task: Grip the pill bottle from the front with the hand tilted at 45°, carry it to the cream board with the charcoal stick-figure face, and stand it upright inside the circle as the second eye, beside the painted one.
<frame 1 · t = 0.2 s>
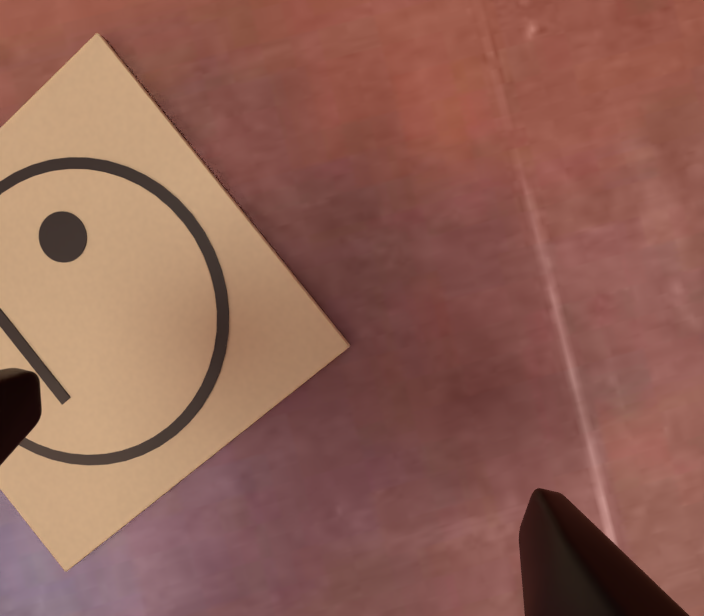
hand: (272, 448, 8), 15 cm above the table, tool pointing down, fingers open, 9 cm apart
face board: (86, 313, 25), on the table
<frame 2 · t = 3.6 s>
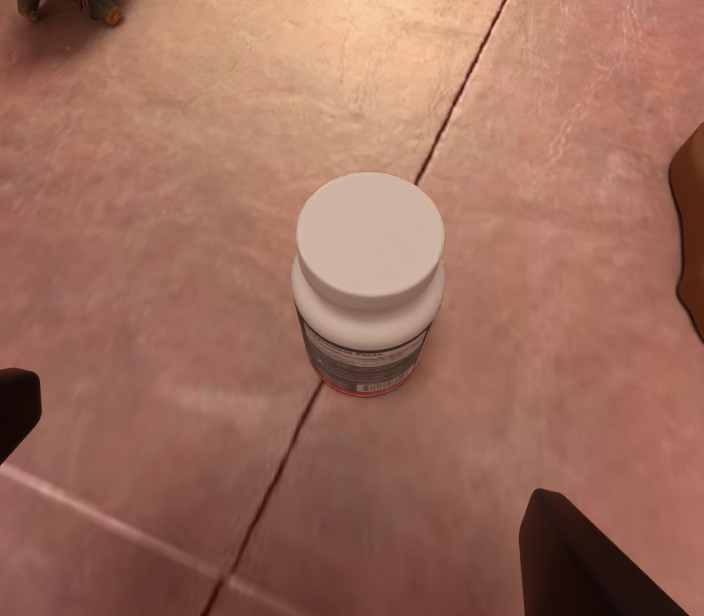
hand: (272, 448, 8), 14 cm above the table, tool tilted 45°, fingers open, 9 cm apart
pill bottle: (363, 344, 24), on the table
bird figurine: (72, 6, 35), on the table
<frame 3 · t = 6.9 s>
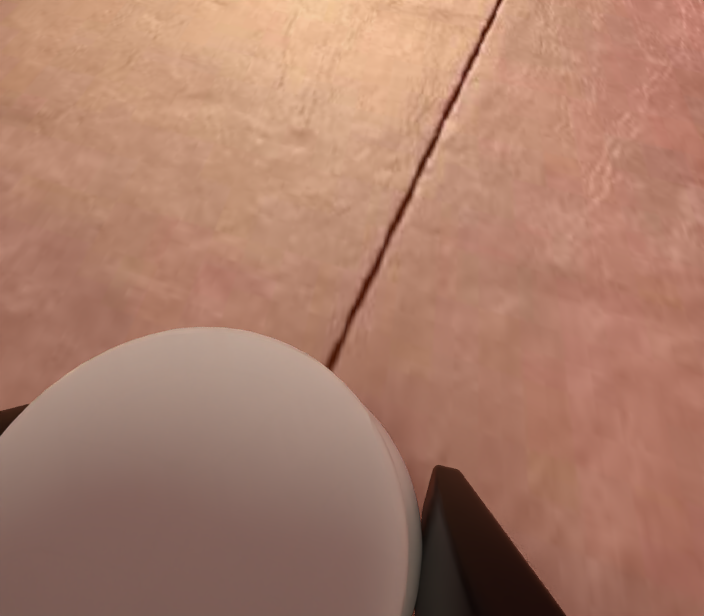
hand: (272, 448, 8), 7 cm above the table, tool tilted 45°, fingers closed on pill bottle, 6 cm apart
pill bottle: (291, 535, 14), on the table, touching gripper
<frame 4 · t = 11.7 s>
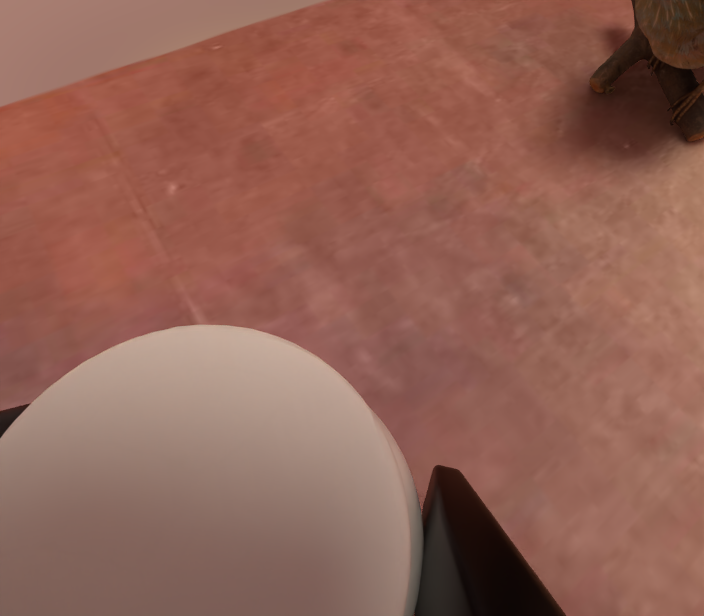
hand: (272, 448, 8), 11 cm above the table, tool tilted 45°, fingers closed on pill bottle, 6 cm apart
pill bottle: (292, 534, 14), point 5 cm above the table, touching gripper
bird figurine: (640, 90, 28), on the table
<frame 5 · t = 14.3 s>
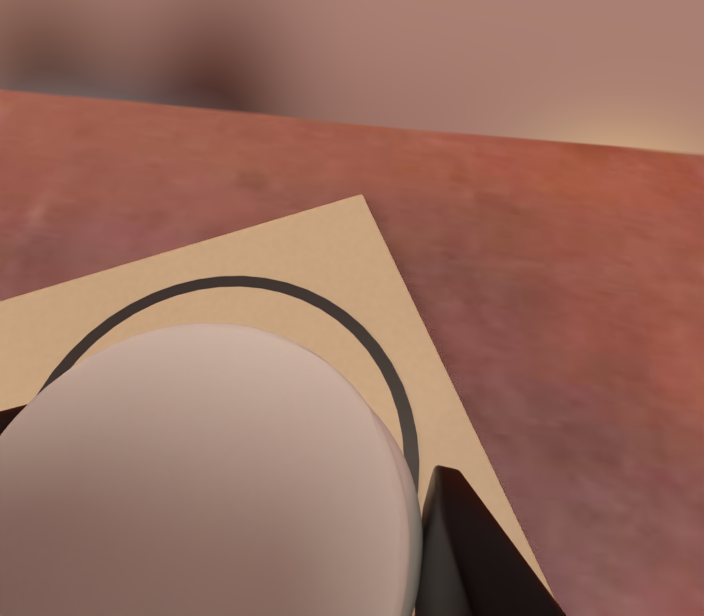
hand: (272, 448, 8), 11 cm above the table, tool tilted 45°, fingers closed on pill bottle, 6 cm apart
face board: (218, 456, 19), on the table
pill bottle: (292, 533, 14), point 4 cm above the table, touching gripper
when the fingers open (7 cm above the table, at t = 16.5 s): pill bottle stays where it is, resting on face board.
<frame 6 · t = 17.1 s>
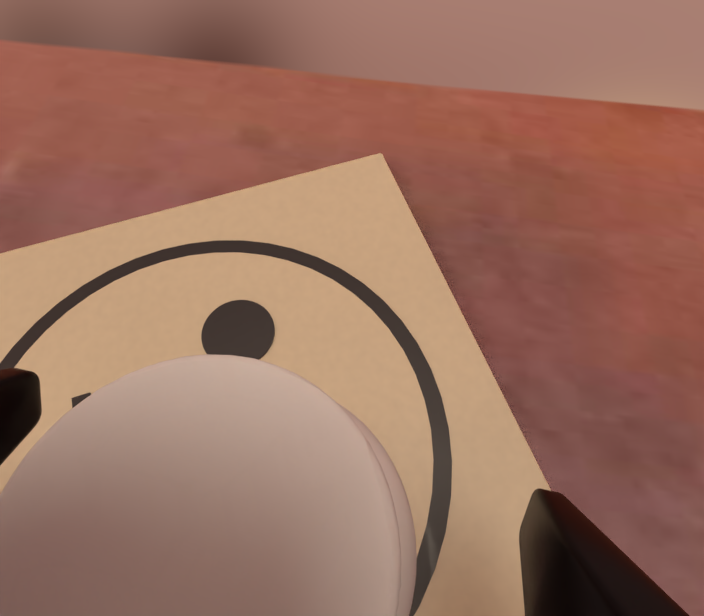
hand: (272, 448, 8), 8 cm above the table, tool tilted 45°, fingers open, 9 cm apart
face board: (208, 450, 16), on the table
pill bottle: (292, 542, 14), resting on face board
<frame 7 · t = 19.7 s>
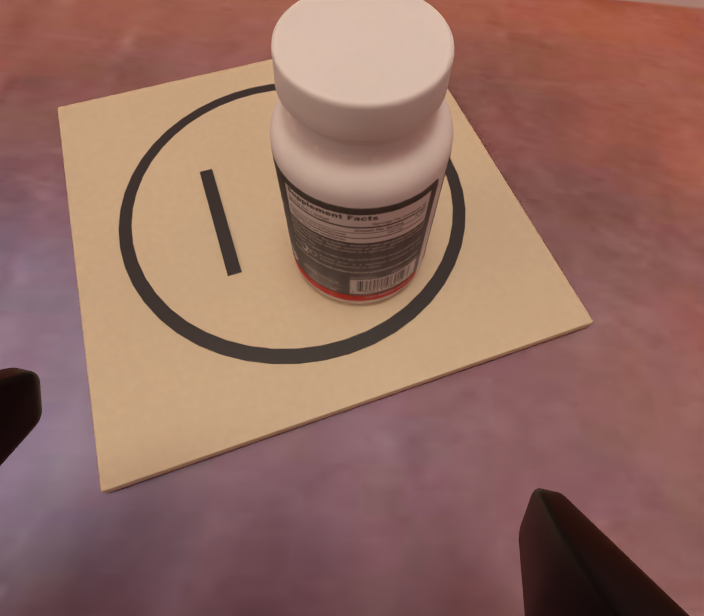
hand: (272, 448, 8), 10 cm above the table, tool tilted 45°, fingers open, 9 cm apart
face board: (295, 208, 23), on the table
pill bottle: (358, 252, 21), resting on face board
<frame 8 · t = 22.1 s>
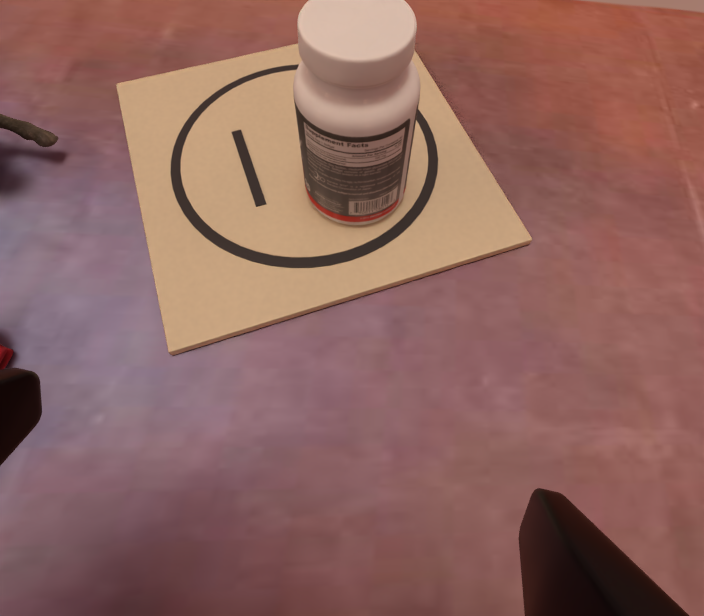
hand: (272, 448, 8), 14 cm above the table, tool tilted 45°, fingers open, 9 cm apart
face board: (306, 160, 29), on the table
pill bottle: (355, 191, 27), resting on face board
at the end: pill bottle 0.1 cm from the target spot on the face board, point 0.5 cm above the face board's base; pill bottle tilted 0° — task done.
